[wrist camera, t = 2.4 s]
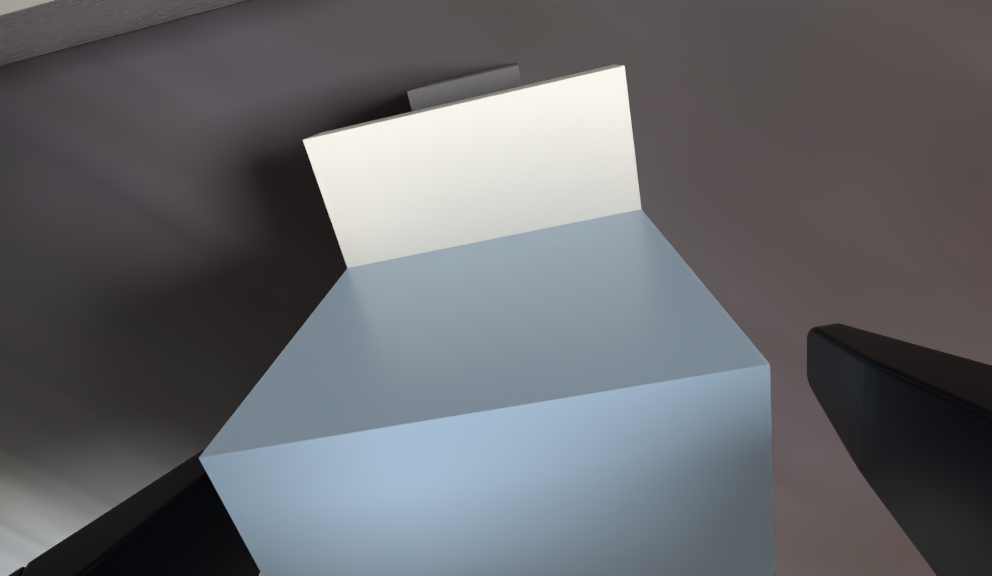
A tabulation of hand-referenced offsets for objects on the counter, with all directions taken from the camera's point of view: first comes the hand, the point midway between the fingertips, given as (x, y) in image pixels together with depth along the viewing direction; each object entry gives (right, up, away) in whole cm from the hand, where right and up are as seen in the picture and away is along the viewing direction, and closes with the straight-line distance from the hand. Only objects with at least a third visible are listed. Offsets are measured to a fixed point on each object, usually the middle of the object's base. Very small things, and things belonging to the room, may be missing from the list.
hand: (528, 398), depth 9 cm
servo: (0, +1, +3) cm, 3 cm away
